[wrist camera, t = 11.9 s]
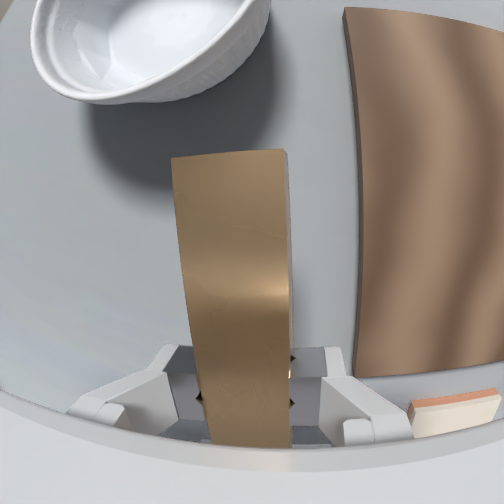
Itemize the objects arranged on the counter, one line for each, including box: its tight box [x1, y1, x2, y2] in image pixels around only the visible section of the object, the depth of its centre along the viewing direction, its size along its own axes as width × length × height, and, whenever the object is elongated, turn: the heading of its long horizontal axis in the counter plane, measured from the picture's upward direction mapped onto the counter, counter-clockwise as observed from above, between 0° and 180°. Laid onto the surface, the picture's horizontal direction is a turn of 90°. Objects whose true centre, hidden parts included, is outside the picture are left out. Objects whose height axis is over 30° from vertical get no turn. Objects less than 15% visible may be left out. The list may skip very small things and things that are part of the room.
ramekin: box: [30, 0, 271, 105], centre depth 13 cm, size 13×13×7 cm
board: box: [342, 7, 504, 377], centre depth 16 cm, size 14×22×2 cm, turn 4°
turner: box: [171, 149, 332, 448], centre depth 11 cm, size 20×6×3 cm, turn 3°
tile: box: [407, 388, 502, 439], centre depth 20 cm, size 2×8×8 cm
